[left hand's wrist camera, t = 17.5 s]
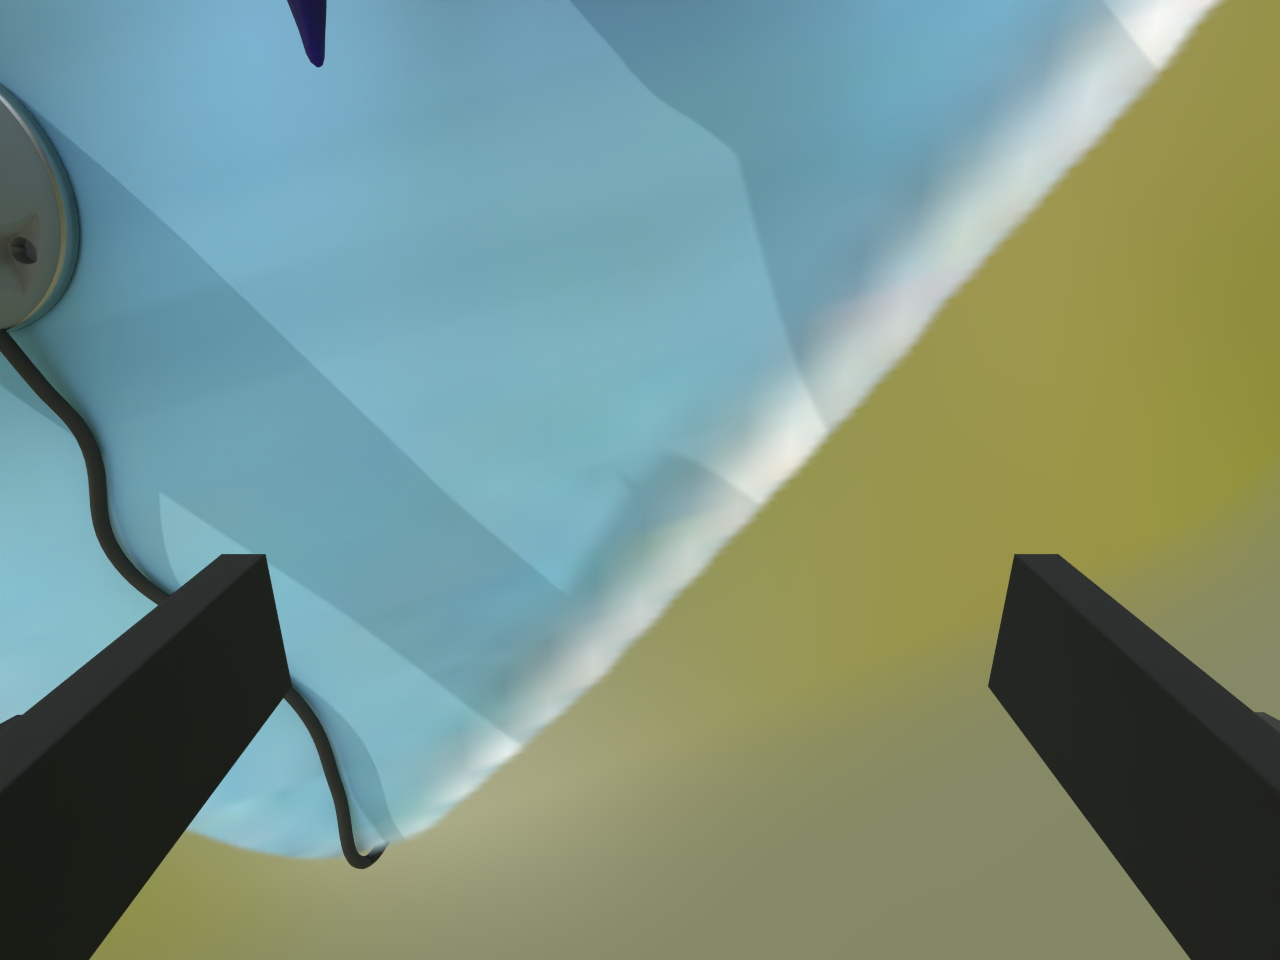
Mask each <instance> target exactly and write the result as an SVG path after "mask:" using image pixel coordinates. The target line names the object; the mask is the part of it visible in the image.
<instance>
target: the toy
mask: <svg viewBox="0 0 1280 960" xmlns="http://www.w3.org/2000/svg"><path fill="white" fill-rule="evenodd" d="M287 1H288V4H289V6H290V9H291V11H292V14H293V17H294V19H295V22H296V24H297V27H298V29H299V32H300V35H301V39H302V42H303V45H304V48H305V51H306V54H307V56H308V58H309V60H310V61H311V63H313V64H314V65H315V66H316V67H321V66H322V65H323V62H324V58H325V27H326V0H287Z"/></svg>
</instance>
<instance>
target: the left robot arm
mask: <svg viewBox="0 0 1280 960" xmlns="http://www.w3.org/2000/svg"><path fill="white" fill-rule="evenodd" d="M78 247H79V222H78V213H77V207H76V202H75V198H74V194H73V190H72V187H71V184H70V181H69V178H68V176H67V173H66V171H65V168H64V166H63V164H62V162H61V159H60V157H59V155H58V154H57V152H56V150H55V148H54V146H53V144H52V143H51V141H50V140H49V138H48V137H47V135H46V133H45V132H44V130H43V129H42V128H41V126H40V125H39V124H38V122H37V121H36V120H35V118H34V117H33V116H32V114H31V113H30V112H29V111H28V110H27V109H26V108H25V106H24V105H23V104H22V103H21V102H20V101H19V100H18V99H17V98H16V97H15V96H14V95H13V94H12V93H11V92H10V91H9V90H8V89H6V88H5V87H4V86H3V85H2V84H1V83H0V351H1V352H2V354H3V355H4V356H5V357H6V358H7V360H8V361H9V362H10V363H11V364H12V366H13V367H14V368H15V369H16V370H17V372H18V373H19V374H20V375H21V376H22V377H23V379H24V380H25V381H26V382H27V383H28V385H29V386H30V387H31V388H32V389H33V390H34V391H35V393H36V394H37V395H38V396H39V397H40V398H41V399H42V400H43V401H44V402H45V403H46V404H47V405H48V406H49V407H50V408H51V409H52V410H53V411H54V412H55V413H56V414H57V415H58V416H59V417H60V418H61V419H62V420H63V421H64V423H65V424H66V425H67V426H68V427H69V429H70V430H71V432H72V433H73V435H74V436H75V438H76V440H77V442H78V444H79V446H80V448H81V450H82V453H83V456H84V459H85V463H86V467H87V473H88V481H89V495H90V508H91V516H92V521H93V526H94V529H95V533H96V536H97V538H98V540H99V543H100V545H101V547H102V549H103V550H104V552H105V554H106V556H107V557H108V559H109V560H110V561H111V563H112V564H113V565H114V567H115V568H116V569H117V570H118V571H119V573H120V574H121V575H122V576H123V577H124V578H125V579H126V580H127V581H128V582H129V583H130V584H131V585H132V586H134V587H135V588H136V589H137V590H138V591H139V592H141V593H142V594H143V595H145V596H146V597H147V598H149V599H150V600H152V601H153V602H154V603H156V604H157V605H158V606H157V607H156V608H154V609H153V610H152V611H151V612H150V613H148V614H147V615H146V616H145V617H143V618H142V619H141V620H140V621H138V622H137V623H136V624H135V625H133V626H132V627H131V628H130V629H128V630H127V631H126V632H125V633H123V634H122V635H121V636H120V637H118V638H117V639H116V640H115V641H114V642H112V643H111V644H110V645H109V646H107V647H106V648H105V649H104V650H102V651H101V652H100V653H99V654H97V655H96V656H95V657H94V658H92V659H91V660H90V661H89V662H87V663H86V664H85V665H84V666H83V667H81V668H80V669H79V670H78V671H76V672H75V673H74V674H73V675H71V676H70V677H69V678H68V679H66V680H65V681H64V682H63V683H61V684H60V685H59V686H58V687H56V688H55V689H54V690H53V691H52V692H50V693H49V694H48V695H47V696H45V697H44V698H43V699H42V700H40V701H39V702H38V703H37V704H35V705H34V706H33V707H32V708H30V709H29V710H28V711H27V712H25V713H24V714H23V715H16V716H14V717H12V718H10V719H8V720H7V721H5V722H3V723H1V724H0V960H89V959H90V958H91V956H92V955H93V954H94V952H95V951H96V950H97V948H98V947H99V946H100V944H101V943H102V942H103V940H104V939H105V937H106V936H107V935H108V933H109V932H110V931H111V929H112V928H113V927H114V925H115V924H116V923H117V921H118V920H119V919H120V917H121V916H122V915H123V913H124V912H125V911H126V909H127V908H128V907H129V905H130V904H131V902H132V901H133V900H134V898H135V897H136V896H137V894H138V893H139V892H140V890H141V889H142V888H143V886H144V885H145V884H146V882H147V881H148V880H149V878H150V877H151V876H152V874H153V873H154V871H155V870H156V869H157V867H158V866H159V865H160V863H161V862H162V861H163V859H164V858H165V857H166V855H167V854H168V853H169V851H170V850H171V848H172V847H173V846H174V844H175V843H176V842H177V840H178V839H179V838H180V836H181V835H182V834H183V832H184V831H185V830H186V828H187V827H188V826H189V824H190V823H191V822H192V820H193V819H194V818H195V816H196V815H197V814H198V812H199V811H200V809H201V808H202V807H203V805H204V804H205V803H206V801H207V800H208V799H209V797H210V796H211V795H212V793H213V792H214V791H215V789H216V788H217V787H218V785H219V784H220V783H221V781H222V780H223V778H224V777H225V776H226V774H227V773H228V772H229V770H230V769H231V768H232V766H233V765H234V764H235V762H236V761H237V760H238V758H239V757H240V756H241V754H242V753H243V752H244V750H245V749H246V747H247V746H248V745H249V743H250V742H251V741H252V739H253V738H254V737H255V735H256V734H257V733H258V731H259V730H260V729H261V727H262V726H263V725H264V723H265V722H266V721H267V719H268V718H269V716H270V715H271V714H272V712H273V711H274V710H275V708H276V707H277V706H278V704H279V703H280V702H281V700H282V699H283V698H284V699H285V700H286V701H287V702H288V703H289V704H290V705H291V706H292V708H293V709H294V710H295V711H296V713H297V714H298V715H299V717H300V718H301V719H302V721H303V722H304V724H305V726H306V727H307V729H308V731H309V733H310V735H311V737H312V739H313V741H314V743H315V746H316V748H317V751H318V754H319V757H320V760H321V763H322V766H323V770H324V773H325V776H326V779H327V782H328V785H329V788H330V791H331V794H332V797H333V800H334V804H335V809H336V814H337V820H338V828H339V835H340V841H341V846H342V850H343V853H344V856H345V857H346V859H347V861H348V863H349V864H350V865H351V866H353V867H355V868H358V869H365V868H367V867H369V866H371V865H372V864H374V863H375V862H376V861H377V860H378V859H379V858H380V856H381V855H382V854H383V852H384V851H385V849H386V847H387V846H388V844H387V845H384V846H381V847H378V848H374V849H372V850H371V851H370V852H369V853H368V854H367V855H366V856H361V855H360V854H359V853H358V852H357V850H356V847H355V843H354V839H353V833H352V826H351V818H350V812H349V806H348V801H347V797H346V793H345V790H344V787H343V784H342V781H341V778H340V775H339V772H338V769H337V765H336V762H335V759H334V755H333V752H332V749H331V746H330V743H329V741H328V738H327V736H326V733H325V731H324V729H323V727H322V725H321V724H320V722H319V720H318V718H317V717H316V715H315V714H314V712H313V711H312V709H311V708H310V707H309V705H308V704H307V703H306V702H305V700H304V699H303V698H302V697H301V696H300V694H299V693H298V692H297V691H296V690H295V689H294V688H293V687H292V684H291V679H290V674H289V669H288V664H287V659H286V654H285V649H284V644H283V639H282V634H281V629H280V624H279V619H278V614H277V609H276V604H275V599H274V594H273V589H272V584H271V579H270V574H269V569H268V564H267V559H266V554H221V555H220V556H219V557H218V558H216V559H215V560H214V561H213V562H212V563H210V564H209V565H208V566H207V567H205V568H204V569H203V570H202V571H200V572H199V573H198V574H197V575H195V576H194V577H193V578H192V579H190V580H189V581H188V582H187V583H185V584H184V585H183V586H182V587H181V588H179V589H178V590H177V591H176V592H174V593H173V594H172V595H171V596H170V595H168V594H167V593H165V592H164V591H163V590H161V589H160V588H158V587H157V586H156V585H154V584H153V583H152V582H151V581H149V580H148V579H147V578H146V577H145V576H144V575H142V574H141V573H140V572H139V571H138V570H137V569H136V568H135V566H134V565H133V564H132V563H131V562H130V561H129V559H128V558H127V557H126V555H125V554H124V553H123V551H122V550H121V548H120V546H119V545H118V543H117V541H116V539H115V536H114V534H113V532H112V528H111V525H110V520H109V515H108V505H107V488H106V476H105V469H104V464H103V460H102V456H101V453H100V450H99V447H98V445H97V443H96V441H95V438H94V436H93V434H92V433H91V431H90V429H89V427H88V426H87V424H86V423H85V422H84V420H83V419H82V418H81V416H80V415H79V414H78V413H77V412H76V411H75V409H74V408H73V407H72V406H71V405H70V404H69V403H68V402H67V401H66V400H65V399H64V398H63V397H62V396H61V395H60V394H59V393H58V392H57V391H56V390H55V389H54V388H53V387H52V386H51V384H50V383H49V382H48V381H47V380H46V379H45V377H44V376H43V375H42V374H41V373H40V371H39V370H38V369H37V368H36V367H35V365H34V364H33V363H32V362H31V360H30V359H29V358H28V357H27V356H26V354H25V353H24V352H23V351H22V349H21V348H20V347H19V346H18V345H17V343H16V342H15V341H14V340H13V338H12V337H11V336H10V335H9V334H8V333H9V332H12V331H15V330H18V329H21V328H23V327H25V326H27V325H30V324H32V323H33V322H35V321H36V320H38V319H39V318H41V317H42V316H44V315H45V314H46V313H47V312H48V311H49V310H50V309H51V308H52V307H53V306H54V305H55V304H56V303H57V302H58V300H59V299H60V298H61V296H62V295H63V293H64V292H65V290H66V288H67V286H68V284H69V282H70V280H71V277H72V274H73V272H74V269H75V264H76V260H77V255H78ZM988 687H989V688H990V689H991V691H992V692H993V694H994V695H995V696H996V698H997V699H998V700H999V702H1000V703H1001V704H1002V706H1003V707H1004V708H1005V710H1006V711H1007V712H1008V714H1009V715H1010V716H1011V718H1012V719H1013V721H1014V722H1015V723H1016V724H1017V726H1018V727H1019V729H1020V730H1021V731H1022V733H1023V734H1024V735H1025V737H1026V738H1027V739H1028V741H1029V742H1030V743H1031V745H1032V746H1033V747H1034V749H1035V750H1036V751H1037V753H1038V754H1039V756H1040V757H1041V758H1042V760H1043V761H1044V762H1045V764H1046V765H1047V766H1048V768H1049V769H1050V770H1051V772H1052V773H1053V774H1054V776H1055V777H1056V778H1057V780H1058V781H1059V783H1060V784H1061V785H1062V787H1063V788H1064V789H1065V791H1066V792H1067V793H1068V795H1069V796H1070V797H1071V799H1072V800H1073V801H1074V803H1075V804H1076V805H1077V807H1078V808H1079V809H1080V811H1081V812H1082V813H1083V815H1084V816H1085V818H1086V819H1087V820H1088V822H1089V823H1090V824H1091V826H1092V827H1093V828H1094V830H1095V831H1096V832H1097V834H1098V835H1099V836H1100V838H1101V839H1102V840H1103V842H1104V843H1105V844H1106V846H1107V847H1108V848H1109V850H1110V851H1111V853H1112V854H1113V855H1114V857H1115V858H1116V859H1117V861H1118V862H1119V863H1120V865H1121V866H1122V867H1123V869H1124V870H1125V871H1126V873H1127V874H1128V876H1129V877H1130V878H1131V879H1132V881H1133V882H1134V884H1135V885H1136V886H1137V888H1138V889H1139V890H1140V892H1141V893H1142V894H1143V896H1144V897H1145V898H1146V900H1147V901H1148V902H1149V904H1150V905H1151V906H1152V908H1153V909H1154V911H1155V912H1156V913H1157V915H1158V916H1159V917H1160V919H1161V920H1162V921H1163V923H1164V924H1165V925H1166V927H1167V928H1168V929H1169V931H1170V932H1171V933H1172V935H1173V936H1174V938H1175V939H1176V940H1177V942H1178V943H1179V944H1180V946H1181V947H1182V948H1183V950H1184V951H1185V952H1186V954H1187V955H1188V956H1189V958H1190V959H1191V960H1280V721H1279V720H1277V719H1275V718H1273V717H1272V716H1270V715H1268V714H1266V713H1264V712H1253V711H1252V710H1251V709H1250V708H1248V707H1247V706H1246V705H1245V704H1243V703H1242V702H1241V701H1240V700H1238V699H1237V698H1236V697H1235V696H1233V695H1232V694H1231V693H1230V692H1228V691H1227V690H1226V689H1225V688H1224V687H1222V686H1221V685H1220V684H1219V683H1217V682H1216V681H1215V680H1214V679H1212V678H1211V677H1210V676H1209V675H1207V674H1206V673H1205V672H1204V671H1202V670H1201V669H1200V668H1199V667H1197V666H1196V665H1195V664H1194V663H1192V662H1191V661H1190V660H1189V659H1188V658H1186V657H1185V656H1184V655H1183V654H1181V653H1180V652H1179V651H1178V650H1176V649H1175V648H1174V647H1173V646H1171V645H1170V644H1169V643H1168V642H1166V641H1165V640H1164V639H1163V638H1161V637H1160V636H1159V635H1158V634H1157V633H1155V632H1154V631H1153V630H1152V629H1150V628H1149V627H1148V626H1147V625H1145V624H1144V623H1143V622H1142V621H1140V620H1139V619H1138V618H1137V617H1135V616H1134V615H1133V614H1132V613H1130V612H1129V611H1128V610H1127V609H1126V608H1124V607H1123V606H1122V605H1121V604H1119V603H1118V602H1117V601H1116V600H1114V599H1113V598H1112V597H1111V596H1109V595H1108V594H1107V593H1106V592H1104V591H1103V590H1102V589H1101V588H1099V587H1098V586H1097V585H1096V584H1094V583H1093V582H1092V581H1091V580H1090V579H1088V578H1087V577H1086V576H1085V575H1083V574H1082V573H1081V572H1080V571H1078V570H1077V569H1076V568H1075V567H1073V566H1072V565H1071V564H1070V563H1068V562H1067V561H1066V560H1065V559H1063V558H1062V557H1061V556H1060V555H1059V554H1015V555H1014V560H1013V565H1012V570H1011V574H1010V579H1009V585H1008V589H1007V595H1006V599H1005V604H1004V609H1003V614H1002V620H1001V624H1000V629H999V634H998V639H997V644H996V649H995V654H994V659H993V664H992V669H991V675H990V679H989V684H988Z"/></svg>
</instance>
